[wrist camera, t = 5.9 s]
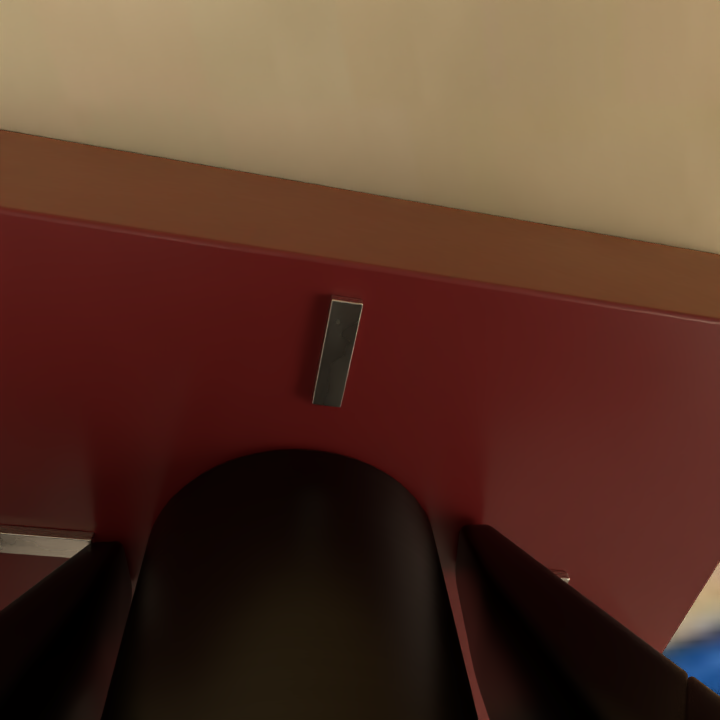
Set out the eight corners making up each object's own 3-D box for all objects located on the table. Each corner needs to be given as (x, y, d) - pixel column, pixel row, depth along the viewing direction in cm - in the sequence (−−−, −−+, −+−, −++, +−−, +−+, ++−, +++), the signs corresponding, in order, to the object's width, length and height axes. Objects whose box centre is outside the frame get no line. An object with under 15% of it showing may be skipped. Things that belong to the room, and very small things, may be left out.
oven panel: (-69, 580, 13) (-165, 739, 10) (-145, 103, 9) (-342, 160, 6) (548, 622, 15) (603, 763, 13) (727, 255, 11) (870, 347, 8)
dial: (140, 644, 10) (49, 1036, 6) (156, 428, 8) (38, 808, 4) (398, 660, 11) (451, 1023, 7) (467, 464, 9) (591, 821, 5)
